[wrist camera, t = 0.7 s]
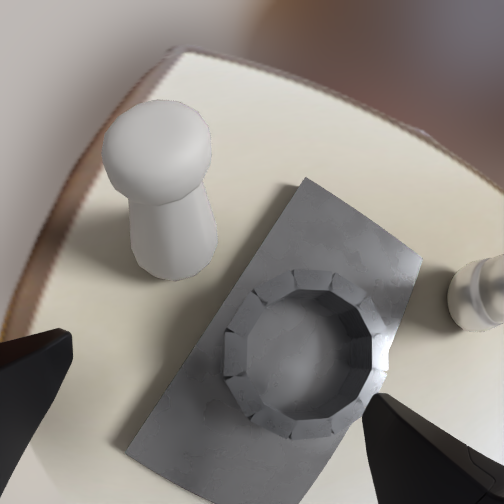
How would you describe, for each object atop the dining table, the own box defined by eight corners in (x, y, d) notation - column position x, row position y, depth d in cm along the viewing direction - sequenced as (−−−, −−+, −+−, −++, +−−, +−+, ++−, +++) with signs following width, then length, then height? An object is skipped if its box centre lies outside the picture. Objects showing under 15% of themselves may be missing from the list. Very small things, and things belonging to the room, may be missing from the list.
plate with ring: (274, 518, 17) (289, 547, 12) (129, 446, 17) (112, 467, 13) (413, 263, 25) (445, 246, 21) (300, 186, 25) (317, 155, 21)
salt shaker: (147, 297, 21) (79, 221, 9) (130, 224, 22) (75, 99, 10) (227, 274, 22) (257, 174, 10) (204, 204, 24) (211, 67, 11)
